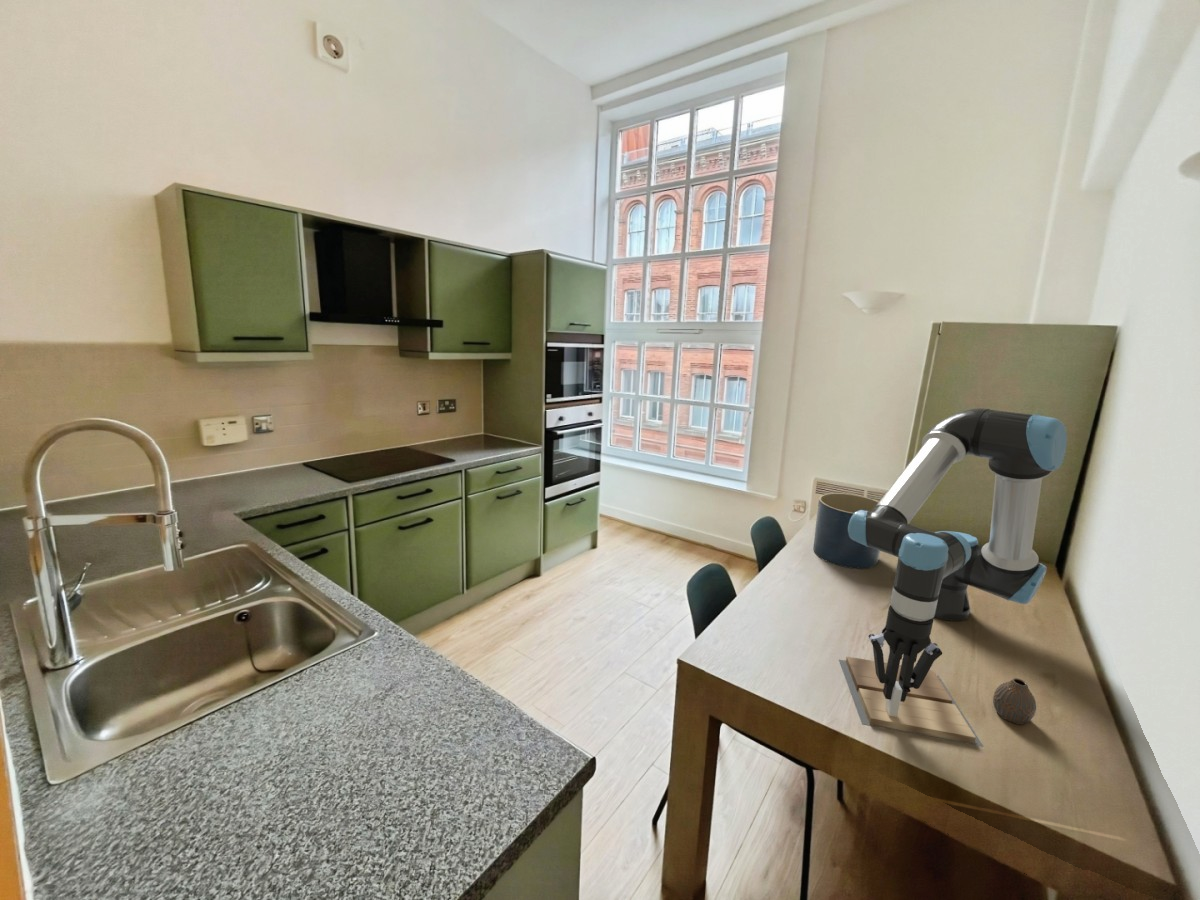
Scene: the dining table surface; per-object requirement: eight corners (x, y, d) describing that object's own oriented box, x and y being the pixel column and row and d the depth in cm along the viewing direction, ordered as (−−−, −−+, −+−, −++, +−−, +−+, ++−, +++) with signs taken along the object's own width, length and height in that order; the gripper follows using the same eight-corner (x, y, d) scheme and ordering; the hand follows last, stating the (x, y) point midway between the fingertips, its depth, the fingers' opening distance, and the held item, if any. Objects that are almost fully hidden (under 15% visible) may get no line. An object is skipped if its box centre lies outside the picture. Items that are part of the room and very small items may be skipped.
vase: (981, 705, 108) (990, 671, 106) (1010, 704, 108) (1020, 670, 106) (1009, 730, 101) (1019, 694, 99) (1040, 729, 102) (1051, 693, 100)
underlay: (938, 677, 116) (938, 675, 116) (983, 748, 97) (983, 746, 96) (838, 660, 121) (838, 659, 121) (861, 725, 101) (862, 724, 101)
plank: (953, 710, 106) (955, 704, 105) (974, 743, 97) (975, 737, 97) (857, 693, 110) (858, 688, 109) (869, 724, 101) (870, 718, 101)
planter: (805, 540, 191) (811, 491, 186) (865, 545, 188) (873, 495, 184) (821, 566, 170) (830, 512, 165) (889, 572, 167) (900, 517, 162)
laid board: (932, 675, 116) (933, 670, 116) (951, 706, 107) (952, 700, 106) (845, 661, 120) (846, 656, 120) (856, 690, 111) (857, 684, 110)
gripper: (940, 606, 99) (918, 704, 104) (869, 596, 102) (852, 693, 107) (957, 627, 92) (933, 731, 97) (880, 616, 94) (861, 718, 100)
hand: (890, 711), depth 102 cm, fingers closed
